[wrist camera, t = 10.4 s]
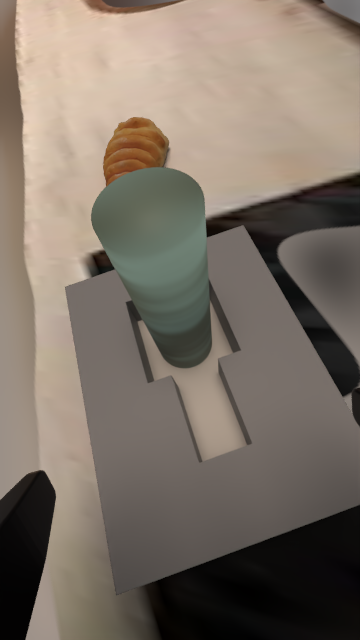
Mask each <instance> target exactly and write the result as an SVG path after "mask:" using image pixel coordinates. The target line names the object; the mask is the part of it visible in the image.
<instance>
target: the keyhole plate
mask: <svg viewBox="0 0 360 640" xmlns="http://www.w3.org/2000/svg"><path fill="white" fill-rule="evenodd" d="M206 239H207V258H208V276H209V295H210V313H211V332H212V347H211V351H210V353H209V355H208V356H207V358H206V359H205V360H204V361H203V362H202V363H200V364H199V365H197V366H194V367H191V368H178V367H175V366H172V365H171V364H169V363H168V362H167V361H165V359H164V358H163V357H162V355H161V353H160V351H159V349H158V348H157V346H156V344H155V342H154V340H153V338H152V336H151V335H150V333H149V331H148V329H147V327H146V325H145V324H144V322H143V320H142V318H141V316H140V314H139V312H138V311H137V309H136V307H135V305H134V303H133V301H132V299H131V298H130V296H129V294H128V292H127V290H126V288H125V286H124V285H123V283H122V281H121V279H120V277H119V275H118V273H117V272H116V270H113V271H110V272H107V273H104V274H101V275H98V276H95V277H92V278H89V279H87V280H84V281H81V282H78V283H75V284H72V285H69V286H66V287H65V290H66V296H67V302H68V308H69V314H70V321H71V327H72V333H73V339H74V345H75V351H76V357H77V363H78V369H79V375H80V381H81V387H82V393H83V399H84V405H85V411H86V417H87V423H88V429H89V435H90V441H91V447H92V453H93V459H94V465H95V471H96V477H97V483H98V489H99V495H100V501H101V507H102V513H103V519H104V525H105V531H106V537H107V543H108V549H109V555H110V561H111V567H112V573H113V579H114V585H115V591H116V595H119V594H121V593H124V592H127V591H129V590H132V589H135V588H137V587H140V586H143V585H146V584H148V583H151V582H154V581H156V580H159V579H162V578H164V577H167V576H170V575H172V574H175V573H178V572H180V571H183V570H186V569H188V568H191V567H194V566H197V565H199V564H202V563H205V562H207V561H210V560H213V559H215V558H218V557H221V556H223V555H226V554H229V553H231V552H234V551H237V550H239V549H242V548H245V547H248V546H250V545H253V544H256V543H258V542H261V541H264V540H266V539H269V538H272V537H274V536H277V535H280V534H282V533H285V532H288V531H290V530H293V529H296V528H299V527H301V526H304V525H307V524H309V523H312V522H315V521H317V520H320V519H323V518H325V517H328V516H331V515H333V514H336V513H339V512H341V511H344V510H347V509H350V508H352V507H355V506H358V505H360V427H359V425H358V424H357V423H356V421H355V419H354V417H353V415H352V413H351V411H350V409H349V408H348V406H347V404H346V402H345V401H344V399H343V397H342V395H341V394H340V392H339V390H338V389H337V387H336V385H335V383H334V382H333V380H332V378H331V376H330V375H329V373H328V371H327V370H326V368H325V366H324V364H323V363H322V361H321V359H320V357H319V356H318V354H317V352H316V350H315V349H314V347H313V345H312V344H311V342H310V340H309V338H308V337H307V335H306V333H305V331H304V330H303V328H302V326H301V324H300V323H299V321H298V319H297V318H296V316H295V314H294V312H293V311H292V309H291V307H290V305H289V304H288V302H287V300H286V299H285V297H284V295H283V293H282V292H281V290H280V288H279V286H278V285H277V283H276V281H275V279H274V278H273V276H272V274H271V273H270V271H269V269H268V267H267V266H266V264H265V262H264V260H263V259H262V257H261V255H260V254H259V252H258V250H257V248H256V247H255V245H254V243H253V241H252V240H251V238H250V236H249V234H248V233H247V231H246V229H245V228H244V226H240V227H237V228H234V229H231V230H228V231H225V232H222V233H219V234H217V235H214V236H211V237H208V238H206Z"/></svg>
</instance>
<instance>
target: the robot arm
mask: <svg viewBox="0 0 360 640" xmlns="http://www.w3.org/2000/svg"><path fill="white" fill-rule="evenodd" d="M352 412H353V417H354V419H355V421H356V423H357V424H358V425H359V427H360V388H356V389H354V390H353V391H352ZM55 501H56V493H55V490H54V488H53V486H52V484H51V482H50V480H49V478H48V476H47V474H46V473H45V472H44V471H43V470H39V471H35V472H31V473H29V474H27V475H26V476H25V477H24V478H22V479H21V481H19V482H18V483H17V484H16V485H15V486H14V487H13V488H12V489H11V490H10V491H9V492H8V493H7V494H6V495H5V496H4V497H3V498H2V499H1V500H0V640H25V639H26V634H27V631H28V627H29V623H30V619H31V615H32V611H33V608H34V604H35V600H36V596H37V592H38V588H39V584H40V580H41V576H42V573H43V568H44V564H45V560H46V555H47V549H48V543H49V537H50V531H51V525H52V519H53V513H54V507H55Z"/></svg>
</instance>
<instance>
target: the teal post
mask: <svg viewBox="0 0 360 640" xmlns="http://www.w3.org/2000/svg"><path fill="white" fill-rule="evenodd" d="M91 221H92V226H93V229H94V231H95V233H96V235H97V236H98V238H99V240H100V242H101V244H102V246H103V248H104V249H105V251H106V253H107V255H108V257H109V259H110V261H111V262H112V264H113V266H114V268H115V270H116V272H117V273H118V275H119V277H120V279H121V281H122V283H123V285H124V286H125V288H126V290H127V292H128V294H129V296H130V298H131V299H132V301H133V303H134V305H135V307H136V309H137V311H138V312H139V314H140V316H141V318H142V320H143V322H144V324H145V325H146V327H147V329H148V331H149V333H150V335H151V336H152V338H153V340H154V342H155V344H156V346H157V348H158V349H159V351H160V353H161V355H162V357H163V358H164V359H165V361H167V362H168V363H169V364H171V365H172V366H175V367H178V368H191V367H194V366H197V365H199V364H200V363H202V362H203V361H204V360H205V359H206V358H207V356H208V355H209V353H210V351H211V347H212V332H211V313H210V295H209V276H208V258H207V239H206V221H205V202H204V195H203V192H202V189H201V187H200V186H199V184H198V183H197V182H196V181H195V180H194V179H193V178H192V177H190V176H189V175H187V174H185V173H183V172H181V171H178V170H175V169H170V168H163V167H152V168H144V169H139V170H136V171H133V172H130V173H127V174H125V175H123V176H121V177H119V178H118V179H116V180H114V181H113V182H112V183H110V184H109V185H108V186H107V187H106V188H105V189H104V190H103V191H102V192H101V193H100V194H99V196H98V197H97V199H96V201H95V203H94V205H93V208H92V213H91Z"/></svg>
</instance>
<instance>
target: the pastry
mask: <svg viewBox="0 0 360 640" xmlns="http://www.w3.org/2000/svg"><path fill="white" fill-rule="evenodd" d="M168 146H169V140H168V138H167V137H166V136H164V134H163V133H162V131H161V130H160V129H159V128H157V127H156V125H155V124H154V122H152V121H151V120H149V119H145V118H139V117H133V118H130V119H128V120H127V121H126V122H123V123H122V122H121V123H119V125H118V128H117V129H116V130H115V131H114V136H113V137H112V139H111V140H110V142H109V143H108V146H107V149H106V153H105V156H104V163H103V164H104V165H103V169H104V176H105V179H106V187H107V186H108V185H109V184H110V183H112V182H113V181H114V180H116V179H118V178H119V177H121V176H123V175H125V174H127V173H130V172H133V171H136V170H139V169H144V168H152V167H163V165H164V163H165V159H166V153H167V150H168Z"/></svg>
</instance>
